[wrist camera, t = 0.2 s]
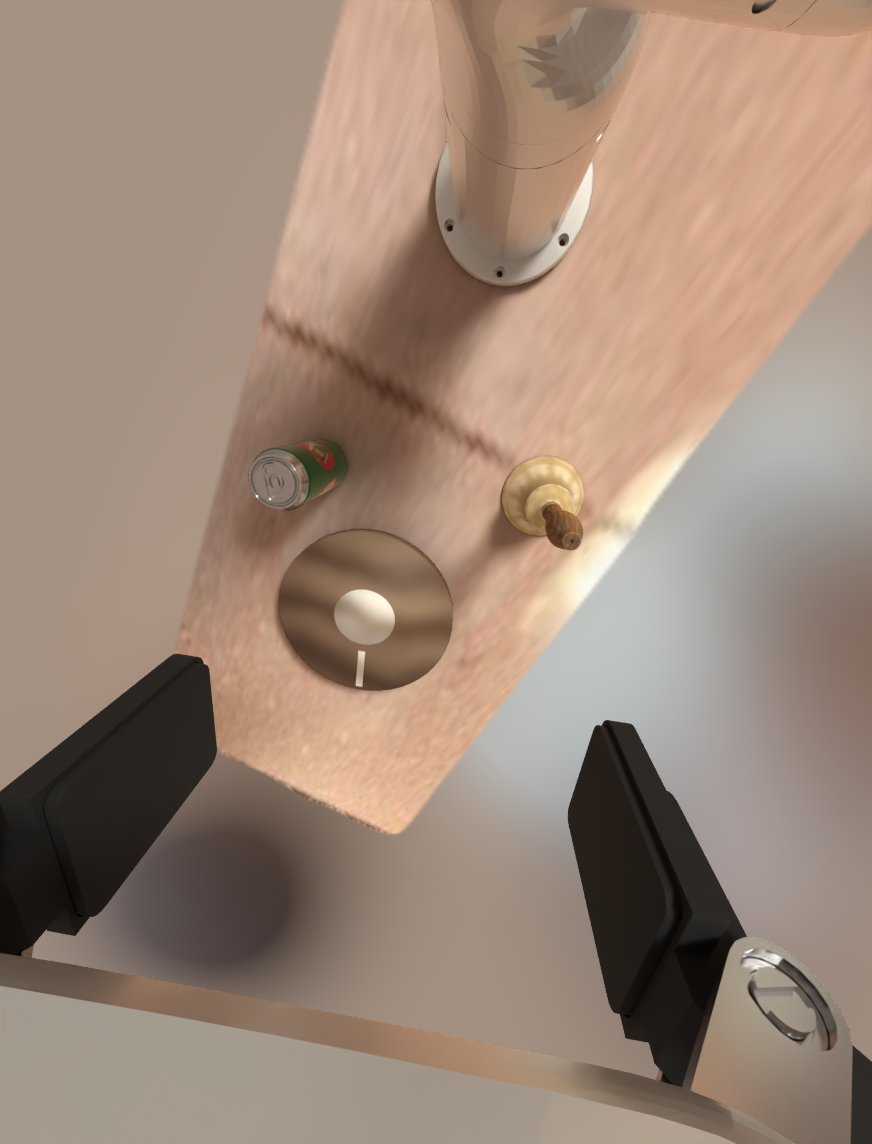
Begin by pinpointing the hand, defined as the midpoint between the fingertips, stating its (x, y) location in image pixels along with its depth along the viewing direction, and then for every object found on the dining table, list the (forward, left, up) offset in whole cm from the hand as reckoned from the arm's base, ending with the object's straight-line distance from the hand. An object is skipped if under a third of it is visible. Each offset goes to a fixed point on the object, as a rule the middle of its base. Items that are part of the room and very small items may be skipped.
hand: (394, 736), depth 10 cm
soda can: (0, -14, -36) cm, 39 cm away
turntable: (+16, -8, -35) cm, 39 cm away
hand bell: (0, +9, -36) cm, 37 cm away
